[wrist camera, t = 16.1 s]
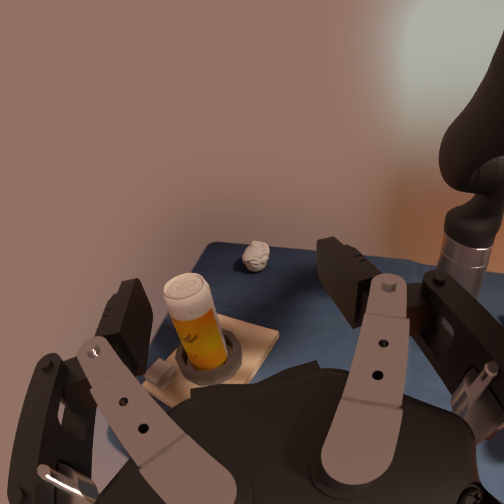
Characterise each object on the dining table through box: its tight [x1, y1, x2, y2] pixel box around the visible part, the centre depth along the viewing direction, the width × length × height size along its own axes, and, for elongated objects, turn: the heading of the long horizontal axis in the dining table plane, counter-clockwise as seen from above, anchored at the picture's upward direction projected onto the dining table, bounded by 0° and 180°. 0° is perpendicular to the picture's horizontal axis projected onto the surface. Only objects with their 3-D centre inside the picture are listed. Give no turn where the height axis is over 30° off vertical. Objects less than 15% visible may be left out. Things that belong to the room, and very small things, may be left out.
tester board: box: [142, 314, 279, 408], centre depth 40 cm, size 20×14×4 cm
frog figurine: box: [242, 241, 269, 272], centre depth 63 cm, size 6×7×7 cm
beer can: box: [163, 273, 229, 371], centre depth 36 cm, size 6×6×15 cm
